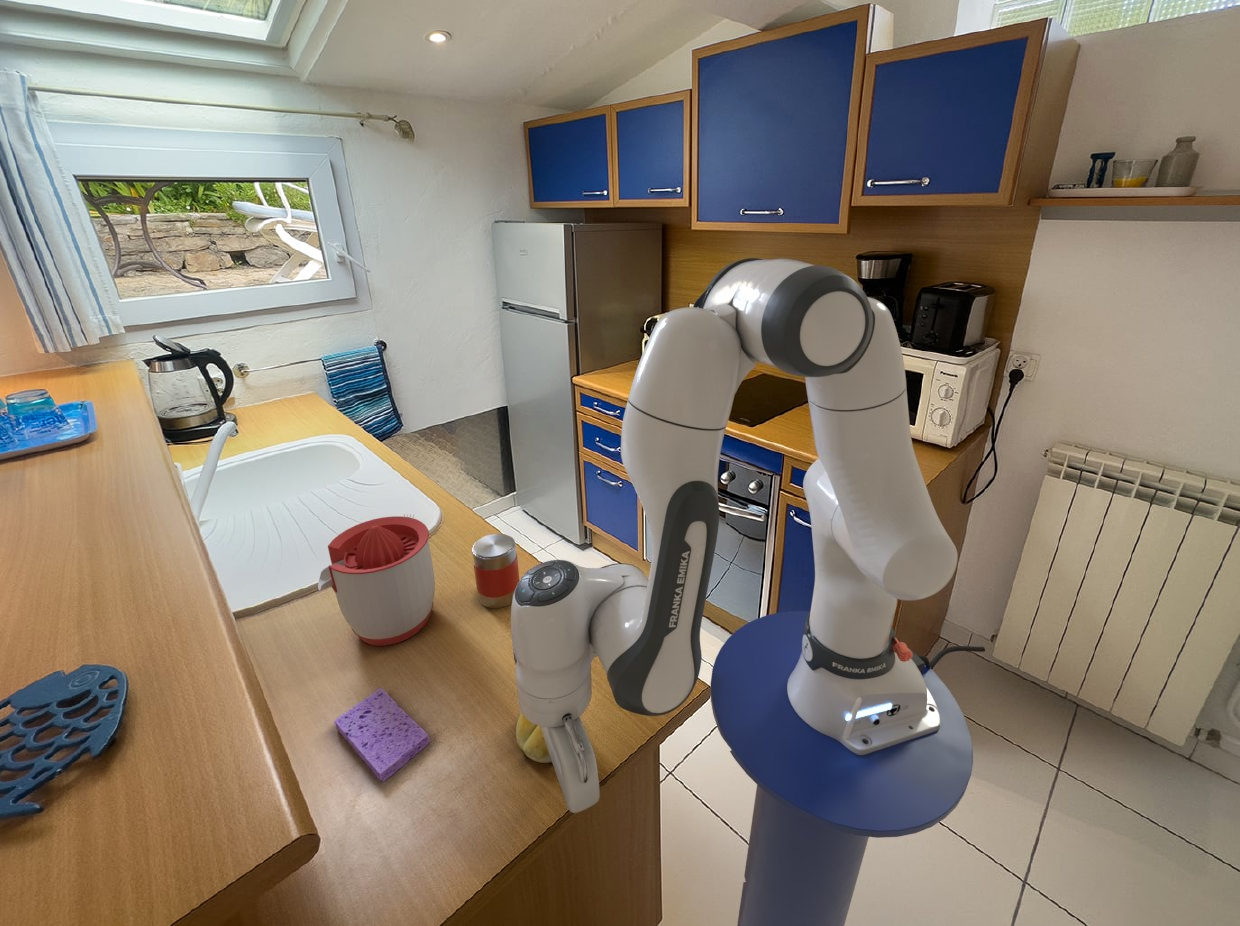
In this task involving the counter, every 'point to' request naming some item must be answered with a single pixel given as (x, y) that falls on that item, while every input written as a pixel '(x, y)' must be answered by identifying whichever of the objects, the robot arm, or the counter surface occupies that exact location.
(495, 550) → the tin can
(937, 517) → the robot arm
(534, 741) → the bread roll
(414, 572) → the citrus juicer
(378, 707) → the sponge
